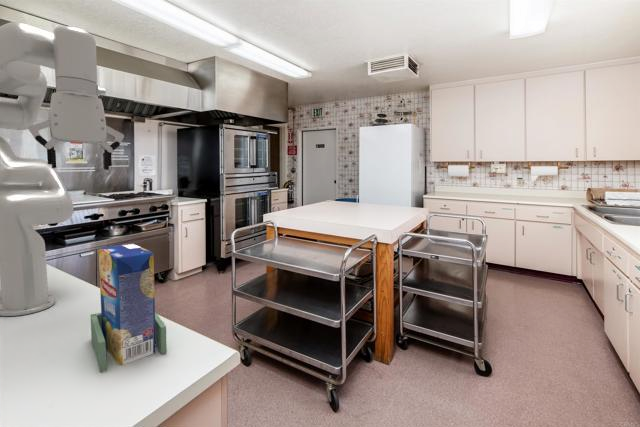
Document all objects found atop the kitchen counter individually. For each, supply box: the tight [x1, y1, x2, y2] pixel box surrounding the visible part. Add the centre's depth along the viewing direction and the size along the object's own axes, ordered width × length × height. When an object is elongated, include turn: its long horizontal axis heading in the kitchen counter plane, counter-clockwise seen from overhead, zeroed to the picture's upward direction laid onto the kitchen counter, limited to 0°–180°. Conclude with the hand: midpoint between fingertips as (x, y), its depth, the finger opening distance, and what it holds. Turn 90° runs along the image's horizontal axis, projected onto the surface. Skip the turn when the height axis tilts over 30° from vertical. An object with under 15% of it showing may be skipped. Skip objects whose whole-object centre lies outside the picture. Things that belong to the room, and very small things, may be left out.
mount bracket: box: [90, 311, 168, 373], centre depth 74 cm, size 15×12×6 cm
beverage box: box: [98, 243, 157, 366], centre depth 72 cm, size 7×11×22 cm, turn 49°
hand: (81, 168), depth 76 cm, fingers open, 9 cm apart
